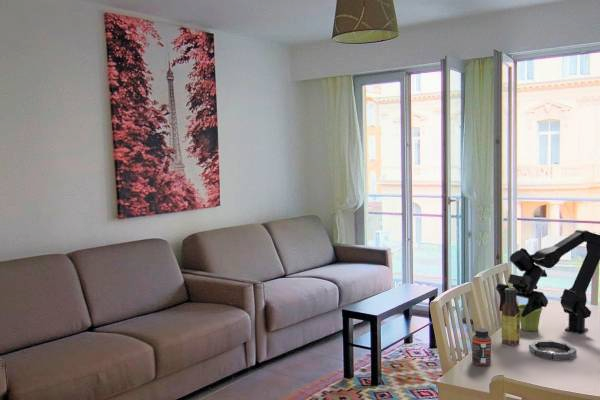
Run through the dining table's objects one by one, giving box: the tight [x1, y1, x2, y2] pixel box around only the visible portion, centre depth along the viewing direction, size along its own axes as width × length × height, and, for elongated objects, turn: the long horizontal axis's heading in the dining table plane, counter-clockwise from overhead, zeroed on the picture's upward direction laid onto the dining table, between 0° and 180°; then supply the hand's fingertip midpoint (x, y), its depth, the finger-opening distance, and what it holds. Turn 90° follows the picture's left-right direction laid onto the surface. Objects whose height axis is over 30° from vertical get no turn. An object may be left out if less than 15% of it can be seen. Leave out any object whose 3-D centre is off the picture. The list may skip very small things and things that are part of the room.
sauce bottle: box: [501, 287, 521, 346], centre depth 210 cm, size 7×6×20 cm
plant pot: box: [518, 303, 544, 332], centre depth 226 cm, size 9×9×9 cm
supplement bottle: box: [471, 327, 492, 367], centre depth 192 cm, size 6×6×11 cm
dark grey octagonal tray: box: [528, 339, 577, 361], centre depth 200 cm, size 14×14×2 cm
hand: (510, 313), depth 210 cm, fingers open, 9 cm apart
